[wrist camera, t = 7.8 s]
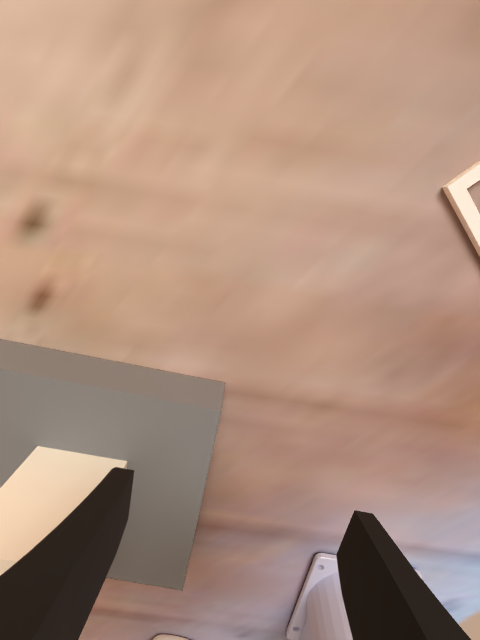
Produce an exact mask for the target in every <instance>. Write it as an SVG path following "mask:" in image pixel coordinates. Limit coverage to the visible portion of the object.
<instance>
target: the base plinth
mask: <svg viewBox="0 0 480 640" xmlns="http://www.w3.org/2000/svg"><path fill="white" fill-rule="evenodd" d="M224 387H225V383H224V382H219V381H214V380H209V379H204V378H198V377H193V376H188V375H183V374H178V373H173V372H167V371H162V370H157V369H152V368H147V367H142V366H136V365H131V364H126V363H121V362H116V361H110V360H105V359H100V358H95V357H90V356H85V355H79V354H74V353H69V352H64V351H59V350H54V349H48V348H43V347H38V346H33V345H28V344H22V343H17V342H12V341H7V340H2V339H0V488H1V487H2V486H3V485H4V483H5V482H6V481H7V480H8V479H9V478H10V477H11V476H12V474H13V473H14V472H15V471H16V470H17V469H18V468H19V467H20V465H21V464H22V463H23V462H24V461H25V460H26V459H27V458H28V456H29V455H30V454H31V453H32V452H33V451H34V450H35V449H36V447H37V446H41V447H47V448H52V449H58V450H64V451H70V452H76V453H82V454H88V455H94V456H100V457H106V458H112V459H117V460H123V461H127V469H130V470H134V477H133V485H132V493H131V501H130V509H129V517H128V521H127V524H126V527H125V530H124V533H123V536H122V539H121V542H120V545H119V548H118V550H117V553H116V556H115V558H114V560H113V563H112V565H111V567H110V569H109V572H108V574H107V576H106V578H111V579H117V580H123V581H129V582H134V583H140V584H146V585H152V586H158V587H164V588H170V589H176V590H182V591H183V587H184V582H185V578H186V573H187V568H188V564H189V559H190V554H191V549H192V545H193V540H194V535H195V531H196V526H197V521H198V517H199V512H200V507H201V503H202V498H203V493H204V489H205V484H206V479H207V475H208V470H209V465H210V461H211V456H212V451H213V446H214V442H215V437H216V432H217V428H218V423H219V418H220V414H221V408H222V401H223V394H224Z"/></svg>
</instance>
